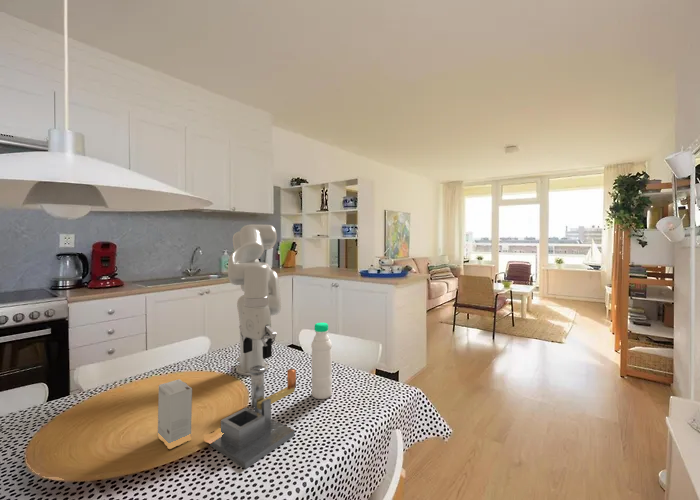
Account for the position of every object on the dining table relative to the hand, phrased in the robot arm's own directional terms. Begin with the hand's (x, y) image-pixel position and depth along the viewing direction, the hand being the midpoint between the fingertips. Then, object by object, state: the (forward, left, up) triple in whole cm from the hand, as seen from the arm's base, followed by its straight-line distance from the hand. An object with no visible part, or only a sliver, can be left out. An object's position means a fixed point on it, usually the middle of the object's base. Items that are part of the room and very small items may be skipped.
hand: (257, 354), depth 105 cm
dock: (+13, -14, -17) cm, 25 cm away
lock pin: (+13, -3, -10) cm, 16 cm away
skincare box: (-3, -25, -17) cm, 30 cm away
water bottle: (+13, +17, -17) cm, 27 cm away
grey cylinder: (0, 0, -17) cm, 17 cm away
